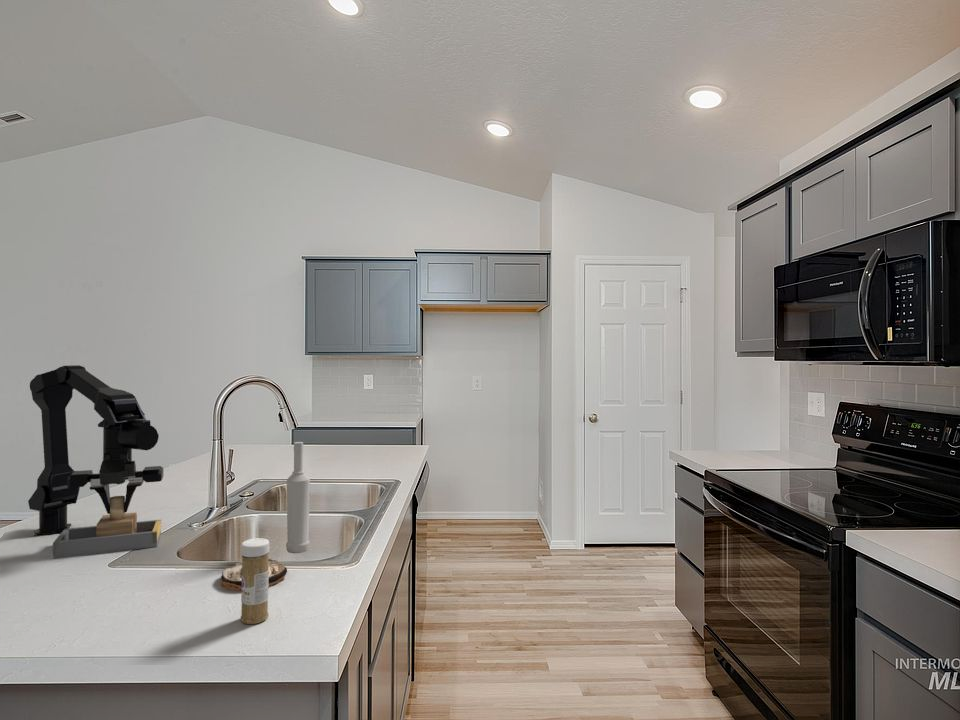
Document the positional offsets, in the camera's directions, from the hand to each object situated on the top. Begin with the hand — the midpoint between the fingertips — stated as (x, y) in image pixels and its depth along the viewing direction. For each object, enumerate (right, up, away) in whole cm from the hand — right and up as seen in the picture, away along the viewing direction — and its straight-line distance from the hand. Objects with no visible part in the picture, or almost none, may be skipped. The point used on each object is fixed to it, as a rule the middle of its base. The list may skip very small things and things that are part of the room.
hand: (117, 512), depth 136 cm
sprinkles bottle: (+47, -9, -37) cm, 60 cm away
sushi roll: (+40, -9, -19) cm, 45 cm away
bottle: (+43, -8, -2) cm, 44 cm away
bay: (-1, -8, 0) cm, 8 cm away
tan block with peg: (0, -6, 0) cm, 6 cm away
